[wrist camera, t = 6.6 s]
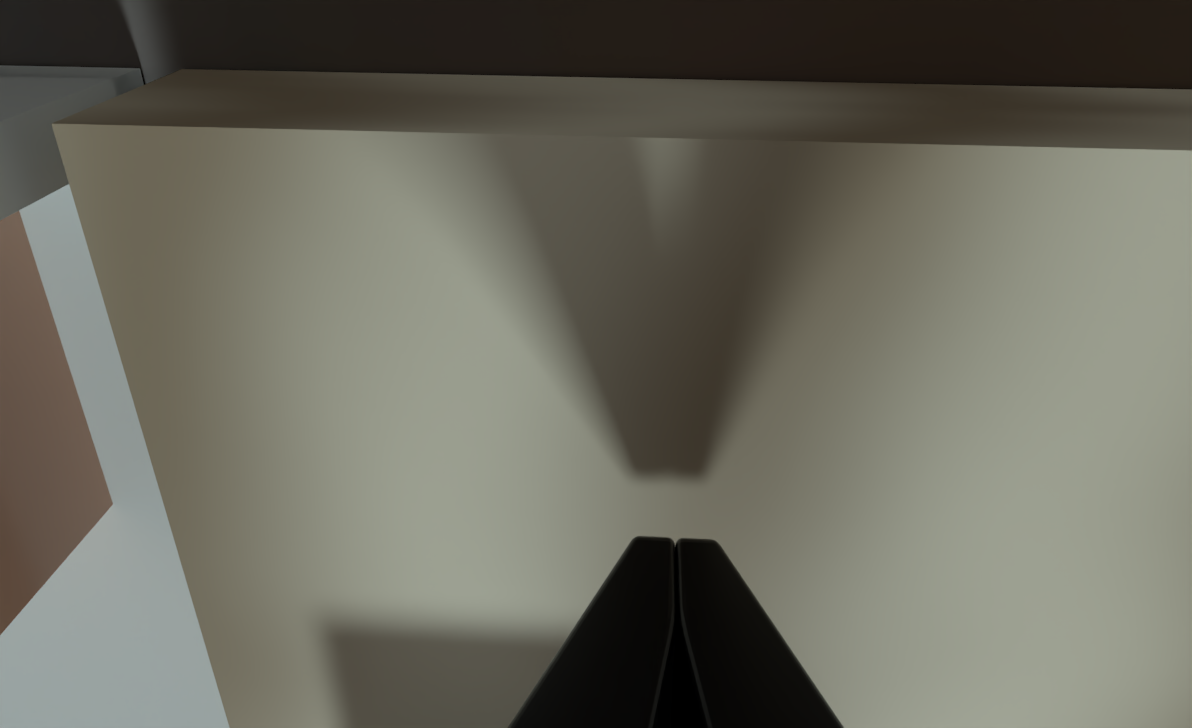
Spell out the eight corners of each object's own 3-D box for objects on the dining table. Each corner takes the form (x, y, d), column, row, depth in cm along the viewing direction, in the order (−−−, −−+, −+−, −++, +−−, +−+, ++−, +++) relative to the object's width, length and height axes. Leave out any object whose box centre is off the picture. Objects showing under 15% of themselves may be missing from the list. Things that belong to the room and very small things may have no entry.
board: (1458, 95, 9) (1700, 161, 7) (1074, 898, 17) (1136, 1053, 15) (181, 68, 10) (50, 123, 8) (351, 851, 17) (307, 991, 15)
